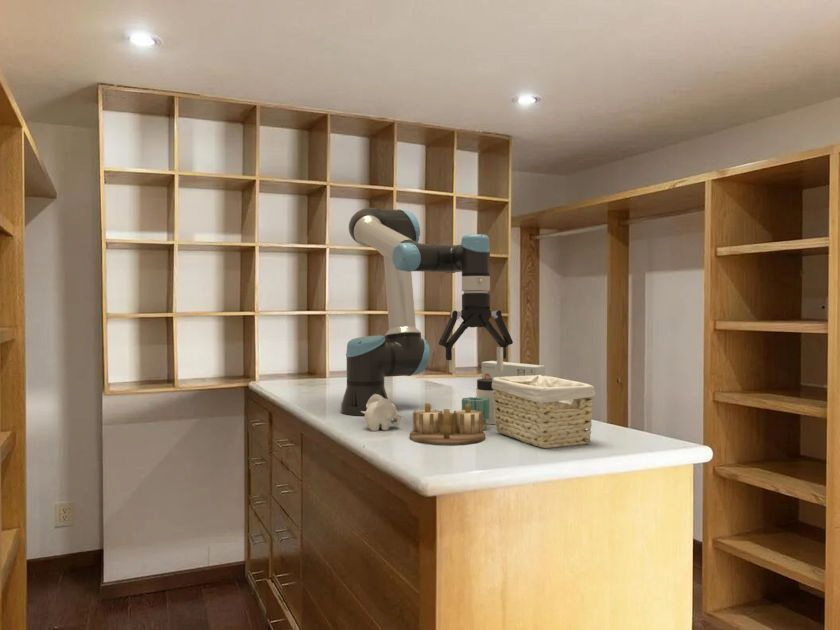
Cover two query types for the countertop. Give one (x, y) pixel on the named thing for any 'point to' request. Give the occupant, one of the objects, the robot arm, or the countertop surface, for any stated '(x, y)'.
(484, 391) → the jar
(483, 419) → the stand
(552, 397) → the storage basket
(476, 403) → the gear
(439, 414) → the carrier
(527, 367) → the skincare box
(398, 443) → the countertop surface
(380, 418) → the elephant figurine
